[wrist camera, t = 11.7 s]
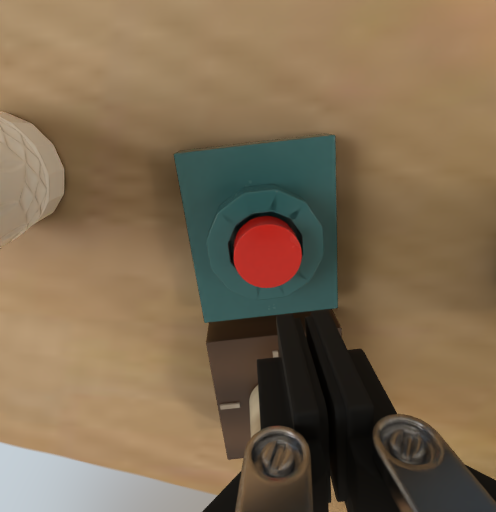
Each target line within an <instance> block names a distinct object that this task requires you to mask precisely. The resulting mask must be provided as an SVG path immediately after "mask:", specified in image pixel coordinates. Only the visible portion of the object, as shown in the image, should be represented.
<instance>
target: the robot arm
mask: <svg viewBox="0 0 496 512" xmlns="http://www.w3.org/2000/svg"><path fill="white" fill-rule="evenodd" d="M276 325H277V335H278V346H279V356H280V357H274V358H265V359H257V375H258V392H259V409H260V426H261V430H260V431H258V432H257V433H256V434H254V435H253V436H252V437H251V439H250V440H249V441H248V443H247V446H246V449H245V452H244V458H243V465H242V471H241V472H240V473H239V474H238V475H237V476H236V477H235V478H234V479H233V480H232V481H231V482H230V483H229V484H228V485H227V486H226V488H225V489H224V490H223V491H222V492H221V493H220V494H219V495H218V496H217V497H216V498H215V499H214V500H213V501H212V502H211V503H210V504H209V505H208V506H207V507H206V508H205V510H203V512H329V511H328V503H330V502H331V482H330V476H331V480H332V484H333V488H334V492H335V496H336V499H337V501H338V502H341V501H345V504H346V508H347V512H496V480H494V479H492V478H490V477H488V476H486V475H484V474H482V473H480V472H478V471H476V470H474V469H473V468H471V467H469V466H467V465H465V464H464V463H463V462H462V461H461V460H460V458H459V457H458V456H457V455H456V454H455V452H454V451H453V450H452V449H451V448H450V446H449V445H448V444H447V443H446V442H445V440H444V439H443V438H442V437H441V436H440V434H439V433H438V432H437V431H436V430H435V429H433V428H432V427H431V426H430V425H429V424H427V423H425V422H424V421H422V420H421V419H418V418H415V417H412V416H409V415H403V414H397V413H396V411H395V409H394V407H393V405H392V403H391V401H390V400H389V398H388V396H387V394H386V392H385V390H384V388H383V387H382V385H381V383H380V381H379V379H378V377H377V375H376V374H375V372H374V370H373V368H372V366H371V364H370V362H369V361H368V359H367V357H366V355H365V353H364V352H363V350H362V349H353V350H347V348H346V346H345V344H344V342H343V340H342V337H341V335H340V333H339V331H338V329H337V327H336V325H335V322H334V320H333V318H332V316H331V314H330V312H329V310H323V311H314V312H311V315H310V316H309V317H305V332H304V329H303V326H302V322H301V319H300V318H294V316H293V314H285V315H276ZM305 333H306V336H305Z"/></svg>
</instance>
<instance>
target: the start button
mask: <svg viewBox="0 0 496 512" xmlns="http://www.w3.org/2000/svg"><path fill="white" fill-rule="evenodd" d="M301 260H302V249H301V246H300V243H299V241H298V239H297V237H296V235H295V233H294V231H293V230H292V228H291V227H290V226H289V225H288V224H287V223H286V222H285V221H283V220H281V219H279V218H277V217H273V216H260V217H256V218H253V219H251V220H249V221H248V222H246V223H245V224H244V225H243V226H242V227H241V228H240V229H239V231H238V232H237V234H236V237H235V240H234V264H235V268H236V270H237V272H238V273H239V275H240V276H241V277H242V278H243V279H244V280H245V281H246V282H248V283H249V284H251V285H254V286H257V287H261V288H272V287H277V286H280V285H282V284H284V283H286V282H287V281H289V280H290V279H291V278H292V277H293V276H294V275H295V274H296V272H297V271H298V269H299V267H300V264H301Z"/></svg>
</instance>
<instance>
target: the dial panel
mask: <svg viewBox="0 0 496 512" xmlns="http://www.w3.org/2000/svg"><path fill="white" fill-rule="evenodd" d="M325 310H329V312H330V314H331V316H332V318H333V320H334V322H335V325H336V327H337V329H338V331H339V333H340V335H341V337H342V334H341V326H340V324H339V323H338V321H337V319H336V317H335V315H334V313H333V311H332V309H325ZM316 311H323V310H316ZM311 312H314V311H307V312H298V313H289V314H293V316H294V318H300V319H301V322H302V326H303V329H304V332H305V317H309V316H310V315H311ZM280 315H285V314H280ZM305 336H306V333H305ZM206 346H207V351H208V356H209V362H210V367H211V372H212V378H213V383H214V388H215V394H216V399H217V405H218V410H219V415H220V421H221V426H222V431H223V437H224V442H225V447H226V453H227V458H228V460H230V459H239V458H244V452H245V449H246V446H247V443H248V441H249V440H250V439H251V429H250V406H249V400H250V395H251V393H252V391H253V390H254V388H255V387H256V386H257V385H258V375H257V359H265V358H274V357H280V356H279V346H278V335H277V325H276V315H271V316H262V317H253V318H244V319H235V320H226V321H217V322H209V326H208V333H207V340H206Z"/></svg>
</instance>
